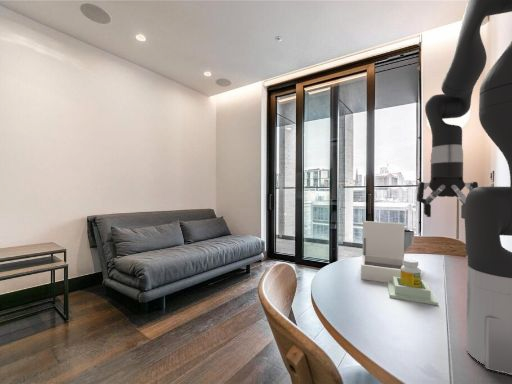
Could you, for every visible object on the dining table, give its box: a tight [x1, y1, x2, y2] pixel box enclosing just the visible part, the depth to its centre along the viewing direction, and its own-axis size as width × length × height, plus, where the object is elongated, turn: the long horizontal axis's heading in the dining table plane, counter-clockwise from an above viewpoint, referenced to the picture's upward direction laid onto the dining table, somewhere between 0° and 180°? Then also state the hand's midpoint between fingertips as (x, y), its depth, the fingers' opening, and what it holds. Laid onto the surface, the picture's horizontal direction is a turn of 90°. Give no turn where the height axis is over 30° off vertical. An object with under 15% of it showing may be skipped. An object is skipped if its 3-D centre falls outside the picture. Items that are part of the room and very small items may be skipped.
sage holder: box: [387, 276, 439, 306], centre depth 78 cm, size 12×12×3 cm
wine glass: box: [404, 228, 415, 254], centre depth 106 cm, size 8×8×15 cm
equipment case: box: [360, 220, 405, 284], centre depth 95 cm, size 17×15×19 cm
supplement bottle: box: [401, 258, 422, 288], centre depth 77 cm, size 5×5×10 cm
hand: (445, 217), depth 73 cm, fingers open, 8 cm apart
